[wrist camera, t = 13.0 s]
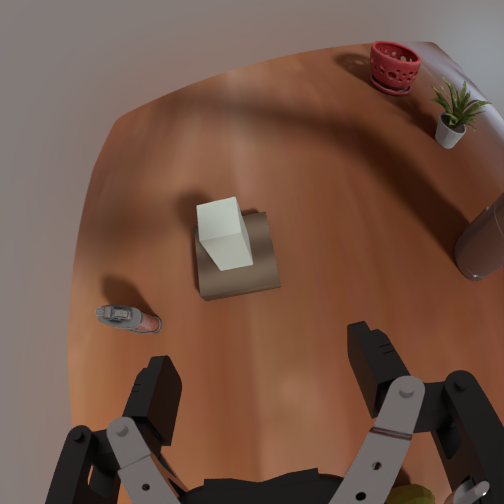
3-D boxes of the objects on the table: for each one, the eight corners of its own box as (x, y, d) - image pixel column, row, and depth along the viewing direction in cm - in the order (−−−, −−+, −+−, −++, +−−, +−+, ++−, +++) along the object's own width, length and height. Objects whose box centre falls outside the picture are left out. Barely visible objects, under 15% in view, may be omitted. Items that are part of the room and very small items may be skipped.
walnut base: (199, 234, 50) (194, 226, 47) (266, 220, 49) (265, 211, 46) (206, 300, 45) (200, 296, 42) (280, 287, 44) (279, 281, 42)
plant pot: (421, 96, 58) (431, 62, 47) (387, 103, 57) (396, 65, 46) (391, 70, 63) (397, 38, 52) (357, 76, 63) (361, 40, 52)
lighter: (121, 331, 45) (86, 321, 36) (123, 312, 46) (89, 299, 37) (161, 335, 44) (130, 326, 35) (163, 315, 45) (133, 301, 36)
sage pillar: (217, 241, 45) (196, 205, 35) (248, 235, 45) (235, 196, 35) (220, 270, 43) (199, 241, 33) (253, 264, 43) (241, 232, 33)
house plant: (455, 121, 54) (475, 75, 39) (479, 162, 48) (508, 116, 33) (412, 117, 55) (429, 64, 40) (435, 160, 50) (462, 106, 35)
